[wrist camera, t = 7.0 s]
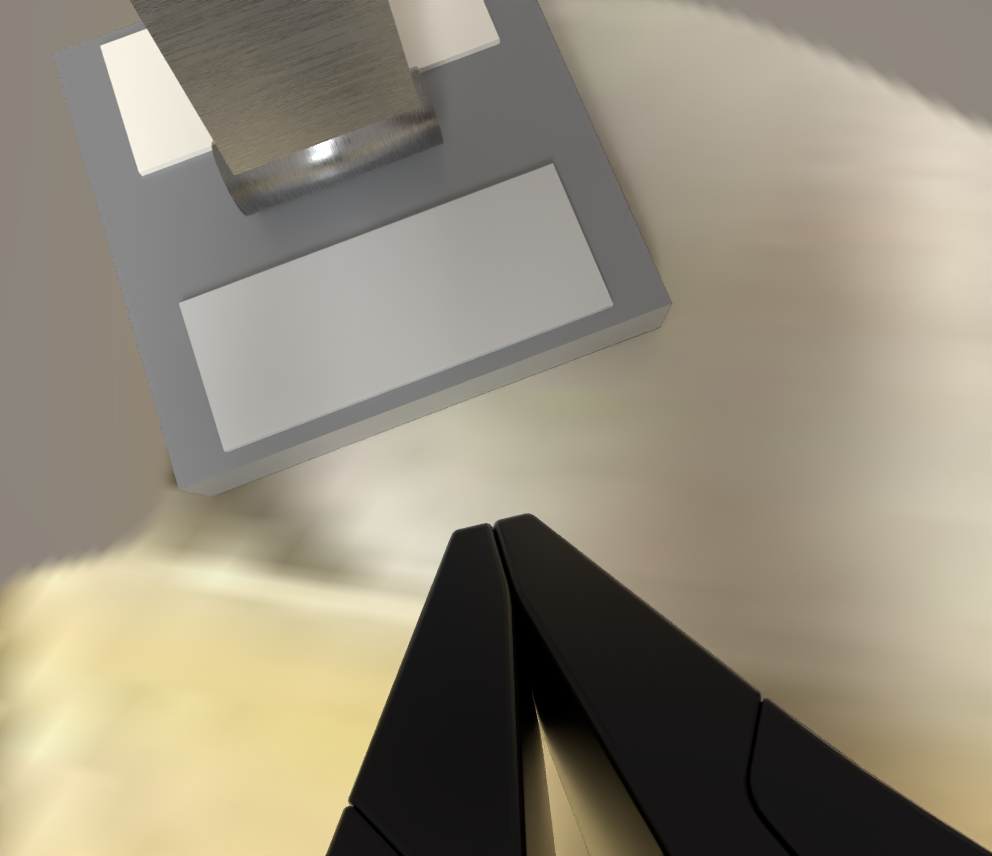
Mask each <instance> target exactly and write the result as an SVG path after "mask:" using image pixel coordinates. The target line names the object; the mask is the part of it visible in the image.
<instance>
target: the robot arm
mask: <svg viewBox="0 0 992 856" xmlns="http://www.w3.org/2000/svg"><path fill="white" fill-rule="evenodd" d="M535 708H536V709H535ZM536 711H537V714H536ZM537 715H538V718H539V722H540V725H541V729H542V732H543V735H544V737H545V740H546V743H547V746H548V749H549V751H550V754H551V757H552V759H553V762H554V764H555V767H556V770H557V772H558V775H559V777H560V780H561V782H562V785H563V788H564V790H565V793H566V795H567V798H568V800H569V803H570V806H571V808H572V811H573V813H574V816H575V818H576V821H577V824H578V826H579V829H580V831H581V834H582V836H583V839H584V842H585V844H586V847H587V849H588V852H589V854H590V856H992V852H991V851H989V850H988V849H986V848H985V847H983V846H981V845H980V844H978V843H977V842H975V841H973V840H972V839H970V838H969V837H967V836H966V835H964V834H962V833H961V832H959V831H958V830H956V829H955V828H953V827H951V826H950V825H948V824H947V823H945V822H943V821H942V820H940V819H939V818H937V817H936V816H934V815H933V814H931V813H929V812H928V811H926V810H925V809H923V808H922V807H920V806H919V805H917V804H916V803H914V802H913V801H911V800H910V799H908V798H907V797H905V796H904V795H902V794H901V793H899V792H898V791H896V790H895V789H893V788H892V787H890V786H889V785H887V784H886V783H884V782H883V781H881V780H880V779H878V778H877V777H875V776H874V775H872V774H871V773H869V772H868V771H866V770H865V769H863V768H862V767H860V766H859V765H858V764H856V763H855V762H853V761H852V760H851V759H849V758H848V757H847V756H845V755H844V754H843V753H841V752H840V751H839V750H837V749H836V748H834V747H833V746H832V745H830V744H829V743H828V742H826V741H825V740H824V739H822V738H821V737H819V736H818V735H817V734H815V733H814V732H813V731H811V730H810V729H809V728H807V727H806V726H805V725H803V724H802V723H801V722H799V721H798V720H797V719H795V718H794V717H793V716H792V715H790V714H789V713H788V712H787V711H785V710H784V709H783V708H781V707H780V706H779V705H778V704H776V703H775V702H774V701H773V700H771V699H769V698H766V699H764V700H763V695H762V693H761V692H760V691H759V690H758V689H757V688H755V687H754V686H753V685H751V684H750V683H749V682H748V681H746V680H745V679H744V678H742V677H741V676H740V675H739V674H737V673H736V672H735V671H733V670H732V669H731V668H730V667H728V666H727V665H726V664H724V663H723V662H722V661H721V660H719V659H718V658H717V657H715V656H714V655H713V654H712V653H710V652H709V651H708V650H706V649H705V648H704V647H703V646H701V645H700V644H699V643H697V642H696V641H695V640H694V639H692V638H691V637H690V636H688V635H687V634H686V633H685V632H683V631H682V630H681V629H679V628H678V627H677V626H676V625H674V624H673V623H672V622H670V621H669V620H668V619H667V618H665V617H664V616H663V615H661V614H660V613H659V612H658V611H656V610H655V609H654V608H652V607H651V606H650V605H649V604H647V603H646V602H645V601H643V600H642V599H641V598H640V597H638V596H637V595H636V594H634V593H633V592H632V591H631V590H629V589H628V588H627V587H625V586H624V585H623V584H622V583H620V582H619V581H618V580H616V579H615V578H614V577H613V576H611V575H610V574H609V573H607V572H606V571H605V570H604V569H602V568H601V567H600V566H598V565H597V564H596V563H594V562H593V561H592V560H591V559H589V558H588V557H587V556H585V555H584V554H583V553H582V552H580V551H579V550H578V549H576V548H575V547H574V546H573V545H571V544H570V543H569V542H567V541H566V540H565V539H564V538H562V537H561V536H560V535H558V534H557V533H556V532H555V531H553V530H552V529H551V528H549V527H548V526H547V525H546V524H544V523H543V522H542V521H540V520H539V519H538V518H537V517H535V516H534V515H532V514H529V513H528V514H522V515H518V516H513V517H509V518H505V519H501V520H498V521H496V522H495V524H494V529H493V527H492V526H491V525H490V524H488V523H484V524H480V525H475V526H471V527H467V528H462V529H458V530H456V531H454V532H453V534H452V536H451V538H450V540H449V543H448V545H447V548H446V550H445V553H444V555H443V558H442V561H441V563H440V566H439V568H438V571H437V573H436V576H435V578H434V581H433V584H432V586H431V589H430V591H429V594H428V596H427V599H426V601H425V604H424V607H423V609H422V612H421V614H420V617H419V619H418V622H417V624H416V627H415V630H414V632H413V635H412V637H411V640H410V642H409V645H408V647H407V650H406V653H405V655H404V658H403V660H402V663H401V665H400V668H399V670H398V673H397V676H396V678H395V681H394V683H393V686H392V688H391V691H390V693H389V696H388V699H387V701H386V704H385V706H384V709H383V711H382V714H381V716H380V719H379V722H378V724H377V727H376V729H375V732H374V734H373V737H372V739H371V742H370V745H369V747H368V750H367V752H366V755H365V757H364V760H363V762H362V765H361V768H360V770H359V773H358V775H357V778H356V780H355V783H354V785H353V788H352V791H351V793H350V796H349V798H348V802H349V805H350V806H347V807H346V808H345V809H344V810H343V812H342V815H341V818H340V820H339V823H338V825H337V828H336V830H335V833H334V836H333V838H332V841H331V843H330V846H329V848H328V851H327V853H326V856H556V853H555V845H554V837H553V829H552V820H551V812H550V804H549V796H548V787H547V779H546V771H545V763H544V754H543V748H542V741H541V735H540V729H539V724H538V719H537Z"/></svg>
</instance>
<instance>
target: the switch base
mask: <svg viewBox="0 0 992 856" xmlns="http://www.w3.org/2000/svg"><path fill="white" fill-rule="evenodd" d="M388 1H389V4H390V7H391V11H392V14H393V17H394V21H395V24H396V27H397V30H398V34H399V37H400V40H401V44H402V47H403V50H404V53H405V57H406V60H407V63H408V67H409V68H411V67H414V66H417V67H418V69H419V71H420V73H421V75H422V78H423V80H424V82H425V85H426V88H427V90H428V93H429V96H430V99H431V101H432V104H433V107H434V110H435V113H436V116H437V120H438V123H439V126H440V130H441V134H442V138H443V144H441V145H438V146H435V147H433V148H430V149H427V150H425V151H422V152H419V153H417V154H414V155H411V156H408V157H406V158H403V159H400V160H398V161H395V162H392V163H390V164H387V165H384V166H382V167H379V168H376V169H374V170H371V171H368V172H366V173H363V174H360V175H357V176H355V177H352V178H349V179H347V180H344V181H341V182H339V183H336V184H333V185H331V186H328V187H325V188H323V189H320V190H317V191H315V192H312V193H309V194H306V195H304V196H301V197H298V198H296V199H293V200H290V201H288V202H285V203H282V204H280V205H277V206H274V207H272V208H269V209H266V210H264V211H261V212H258V213H255V214H253V215H250V216H245V215H244V214H243V213H242V212H241V211H240V210H239V208H238V207H237V205H236V204H235V202H234V200H233V199H232V197H231V195H230V193H229V191H228V189H227V187H226V185H225V183H224V181H223V179H222V177H221V174H220V172H219V169H218V167H217V164H216V161H215V158H214V155H213V151H212V146H211V143H212V141H213V139H212V138H211V136H210V134H209V132H208V131H207V129H206V127H205V126H204V124H203V122H202V121H201V119H200V117H199V116H198V114H197V112H196V111H195V109H194V107H193V106H192V104H191V102H190V100H189V99H188V97H187V95H186V94H185V92H184V90H183V89H182V87H181V85H180V84H179V82H178V80H177V79H176V77H175V75H174V74H173V72H172V70H171V68H170V67H169V65H168V63H167V62H166V60H165V58H164V57H163V55H162V53H161V52H160V50H159V48H158V47H157V45H156V43H155V42H154V40H153V38H152V37H151V35H150V33H149V31H148V30H147V28H146V26H145V25H144V23H143V21H141V22H138V23H136V24H133V25H130V26H127V27H125V28H122V29H119V30H116V31H114V32H111V33H108V34H106V35H103V36H100V37H97V38H95V39H92V40H89V41H87V42H84V43H81V44H78V45H76V46H73V47H70V48H67V49H65V50H62V51H59V52H57V53H54V54H53V57H54V61H55V64H56V68H57V71H58V75H59V78H60V81H61V85H62V88H63V92H64V95H65V99H66V102H67V105H68V108H69V112H70V115H71V119H72V123H73V126H74V130H75V133H76V137H77V139H78V143H79V147H80V150H81V154H82V157H83V160H84V164H85V167H86V171H87V174H88V178H89V181H90V185H91V188H92V192H93V195H94V198H95V202H96V205H97V208H98V212H99V216H100V219H101V222H102V226H103V229H104V233H105V236H106V240H107V243H108V246H109V250H110V253H111V257H112V260H113V264H114V267H115V271H116V274H117V278H118V281H119V284H120V288H121V291H122V295H123V298H124V302H125V305H126V309H127V312H128V316H129V319H130V322H131V326H132V329H133V332H134V336H135V340H136V343H137V347H138V350H139V353H140V357H141V360H142V364H143V367H144V371H145V374H146V377H147V381H148V384H149V388H150V391H151V395H152V398H153V402H154V405H155V408H156V412H157V415H158V419H159V422H160V426H161V429H162V433H163V436H164V439H165V443H166V446H167V450H168V453H169V457H170V460H171V464H172V467H173V470H174V474H175V477H176V481H177V484H178V488H179V490H182V491H187V492H192V493H196V494H201V495H205V496H210V497H212V496H215V495H217V494H220V493H222V492H225V491H228V490H230V489H233V488H236V487H238V486H241V485H244V484H246V483H249V482H252V481H254V480H257V479H260V478H262V477H265V476H267V475H270V474H273V473H275V472H278V471H281V470H283V469H286V468H289V467H291V466H294V465H297V464H299V463H302V462H305V461H307V460H310V459H312V458H315V457H318V456H320V455H323V454H326V453H328V452H331V451H334V450H336V449H339V448H342V447H344V446H347V445H349V444H352V443H355V442H357V441H360V440H363V439H365V438H368V437H371V436H373V435H376V434H379V433H381V432H384V431H387V430H389V429H392V428H394V427H397V426H400V425H402V424H405V423H408V422H410V421H413V420H416V419H418V418H421V417H424V416H426V415H429V414H431V413H434V412H437V411H439V410H442V409H445V408H447V407H450V406H453V405H455V404H458V403H461V402H463V401H466V400H469V399H471V398H474V397H476V396H479V395H482V394H484V393H487V392H490V391H492V390H495V389H498V388H500V387H503V386H506V385H508V384H511V383H514V382H516V381H519V380H521V379H524V378H527V377H529V376H532V375H535V374H537V373H540V372H543V371H545V370H548V369H551V368H553V367H556V366H558V365H561V364H564V363H566V362H569V361H572V360H574V359H577V358H580V357H582V356H585V355H588V354H590V353H593V352H596V351H598V350H601V349H603V348H606V347H609V346H611V345H614V344H617V343H619V342H622V341H625V340H627V339H630V338H633V337H635V336H638V335H641V334H643V333H646V332H648V331H651V330H654V329H656V328H659V327H660V326H661V324H662V323H663V321H664V319H665V317H666V315H667V313H668V311H669V309H670V307H671V305H672V302H671V300H670V298H669V295H668V293H667V291H666V289H665V286H664V284H663V282H662V280H661V278H660V275H659V273H658V271H657V269H656V266H655V264H654V262H653V260H652V257H651V255H650V253H649V251H648V248H647V246H646V244H645V242H644V239H643V237H642V235H641V233H640V230H639V228H638V226H637V224H636V221H635V219H634V217H633V215H632V212H631V210H630V208H629V206H628V203H627V201H626V199H625V197H624V194H623V192H622V190H621V188H620V185H619V183H618V181H617V179H616V176H615V174H614V172H613V170H612V167H611V165H610V163H609V161H608V158H607V156H606V154H605V152H604V149H603V147H602V145H601V143H600V140H599V138H598V136H597V134H596V132H595V129H594V127H593V125H592V123H591V120H590V118H589V116H588V114H587V111H586V109H585V107H584V105H583V102H582V100H581V98H580V96H579V93H578V91H577V89H576V87H575V84H574V82H573V80H572V78H571V75H570V73H569V71H568V69H567V66H566V64H565V62H564V60H563V57H562V55H561V53H560V51H559V48H558V46H557V44H556V42H555V39H554V37H553V35H552V33H551V30H550V28H549V26H548V24H547V21H546V19H545V17H544V15H543V12H542V10H541V8H540V6H539V3H538V1H537V0H388Z"/></svg>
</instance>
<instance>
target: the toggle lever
mask: <svg viewBox="0 0 992 856" xmlns="http://www.w3.org/2000/svg"><path fill="white" fill-rule="evenodd" d="M130 1H131V3H132V5H133V6H134V8H135V10H136V11H137V13H138V14H139V16H140V18H141V19H142V21H143V23H144V25H145V26H146V28H147V30H148V31H149V33H150V35H151V37H152V38H153V40H154V42H155V43H156V45H157V47H158V48H159V50H160V52H161V53H162V55H163V57H164V58H165V60H166V62H167V63H168V65H169V67H170V68H171V70H172V72H173V74H174V75H175V77H176V79H177V80H178V82H179V84H180V85H181V87H182V89H183V90H184V92H185V94H186V95H187V97H188V99H189V100H190V102H191V104H192V106H193V107H194V109H195V111H196V112H197V114H198V116H199V117H200V119H201V121H202V122H203V124H204V126H205V127H206V129H207V131H208V132H209V134H210V136H211V138H212V139H213V141H212V143H211V146H212V151H213V155H214V158H215V161H216V164H217V167H218V169H219V172H220V174H221V177H222V179H223V181H224V183H225V185H226V187H227V189H228V191H229V193H230V195H231V197H232V199H233V200H234V202H235V204H236V205H237V207H238V208H239V210H240V211H241V212H242V213H243V214H244V215H245V216H250V215H253V214H255V213H258V212H261V211H264V210H266V209H269V208H272V207H274V206H277V205H280V204H282V203H285V202H288V201H290V200H293V199H296V198H298V197H301V196H304V195H306V194H309V193H312V192H315V191H317V190H320V189H323V188H325V187H328V186H331V185H333V184H336V183H339V182H341V181H344V180H347V179H349V178H352V177H355V176H357V175H360V174H363V173H366V172H368V171H371V170H374V169H376V168H379V167H382V166H384V165H387V164H390V163H392V162H395V161H398V160H400V159H403V158H406V157H408V156H411V155H414V154H417V153H419V152H422V151H425V150H427V149H430V148H433V147H435V146H438V145H441V144H443V138H442V134H441V130H440V126H439V123H438V120H437V116H436V113H435V110H434V107H433V104H432V101H431V99H430V96H429V93H428V90H427V88H426V85H425V82H424V80H423V78H422V75H421V73H420V71H419V69H418V67H417V66H414V67H411V68H409V67H408V63H407V60H406V57H405V53H404V50H403V47H402V44H401V40H400V37H399V34H398V30H397V27H396V24H395V21H394V17H393V14H392V11H391V7H390V4H389V1H388V0H130Z"/></svg>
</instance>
